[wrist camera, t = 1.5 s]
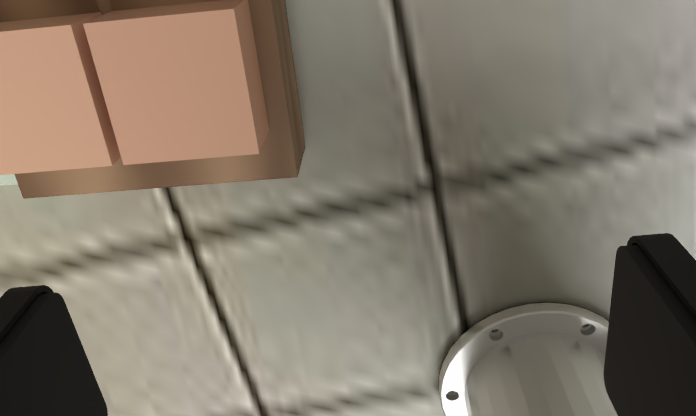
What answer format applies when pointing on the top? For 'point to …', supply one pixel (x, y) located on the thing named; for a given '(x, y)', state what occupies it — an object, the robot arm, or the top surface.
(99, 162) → the tile
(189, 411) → the top surface
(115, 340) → the top surface
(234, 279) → the top surface
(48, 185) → the brown flat block
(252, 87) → the tile
